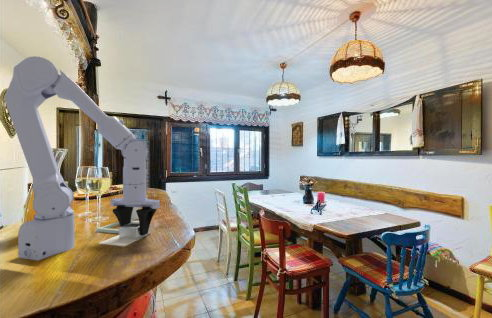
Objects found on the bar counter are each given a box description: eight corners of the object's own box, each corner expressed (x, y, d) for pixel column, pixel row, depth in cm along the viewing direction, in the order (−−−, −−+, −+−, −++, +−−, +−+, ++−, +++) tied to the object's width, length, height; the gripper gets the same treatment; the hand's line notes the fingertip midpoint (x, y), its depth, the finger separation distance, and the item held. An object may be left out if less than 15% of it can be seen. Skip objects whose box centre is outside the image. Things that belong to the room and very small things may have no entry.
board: (124, 250, 56) (124, 246, 56) (98, 247, 58) (98, 243, 58) (147, 239, 63) (146, 235, 63) (123, 236, 65) (123, 233, 65)
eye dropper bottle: (123, 221, 82) (123, 187, 82) (140, 220, 83) (139, 187, 83) (118, 224, 78) (118, 189, 78) (136, 223, 79) (136, 188, 79)
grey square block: (136, 240, 60) (136, 228, 60) (119, 238, 61) (119, 226, 61) (150, 233, 65) (150, 222, 65) (134, 232, 66) (134, 221, 66)
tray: (124, 237, 65) (124, 231, 65) (96, 234, 67) (96, 228, 67) (148, 227, 74) (148, 221, 74) (123, 225, 77) (123, 219, 77)
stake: (136, 237, 62) (136, 224, 62) (129, 236, 63) (128, 224, 63) (141, 235, 64) (141, 222, 64) (133, 234, 64) (133, 222, 64)
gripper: (166, 182, 65) (167, 231, 65) (124, 181, 69) (124, 227, 69) (149, 185, 58) (150, 239, 58) (104, 184, 62) (104, 234, 62)
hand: (135, 233), depth 63 cm, fingers closed on grey square block, 5 cm apart
